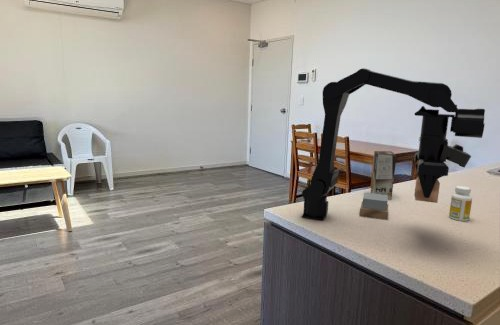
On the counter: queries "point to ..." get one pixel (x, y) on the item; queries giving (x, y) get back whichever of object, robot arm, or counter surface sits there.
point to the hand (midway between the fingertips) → (425, 194)
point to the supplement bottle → (461, 204)
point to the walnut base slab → (374, 213)
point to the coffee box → (383, 173)
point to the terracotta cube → (420, 196)
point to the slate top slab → (375, 201)
